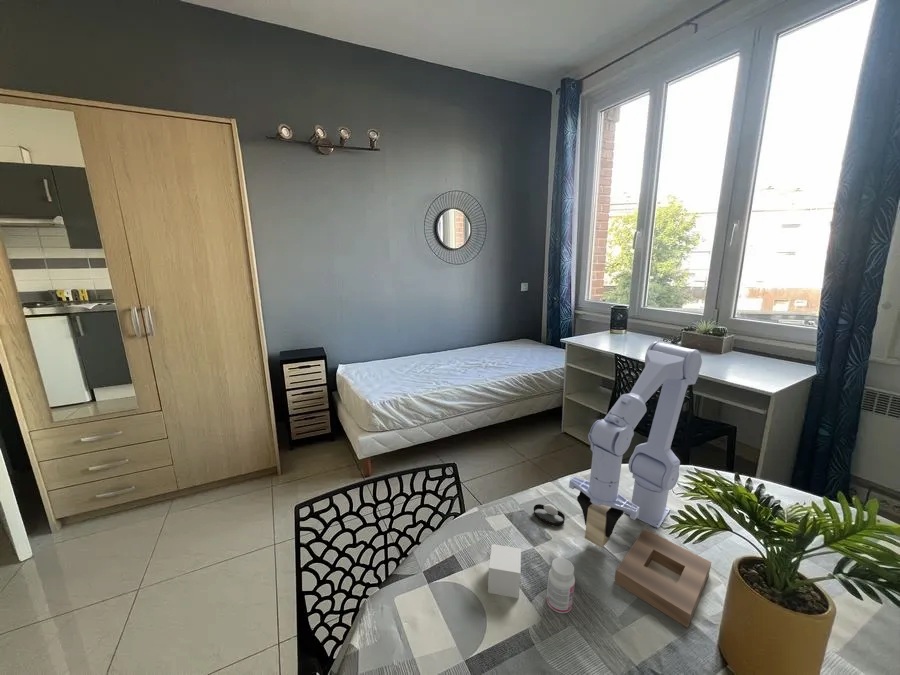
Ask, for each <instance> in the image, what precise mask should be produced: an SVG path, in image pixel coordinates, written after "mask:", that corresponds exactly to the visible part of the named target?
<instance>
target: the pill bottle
mask: <svg viewBox="0 0 900 675" xmlns="http://www.w3.org/2000/svg"><path fill="white" fill-rule="evenodd" d="M575 577H576V576H575V567H574V564H573V563H572V562H571V561H570V560H569V559H567V558H564V557H555V558H554V559H552V561H551V568H550V569H549V572H548V576H547V578H548V579H547V587H546V588H547V589H546V596H545V597H546V602H547V605H548V606H549V608H550V609H551V610H552V611H554V612H556V613H559V614H567V613H569V612H570V611H571V610H572V609H573V603H574V595H575V594H574V593H575V585H576V578H575Z"/></svg>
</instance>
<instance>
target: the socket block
mask: <svg viewBox="0 0 900 675" xmlns="http://www.w3.org/2000/svg"><path fill="white" fill-rule="evenodd" d="M621 560H622V561H620V563H619V565H618V566H617V568H616V569H615V574H614V581H613V582H614V583H615V584H617V585H619V586H620V587H621V588H623V589H624V590H626V591H628V592H629V593H631V594H633V595H634V596H635V597H637V598H639V599H641V600H642V601H644V602H645V603H647V604H649V605H650V606H652V607H653V608H655V609H656V610H659V612H661V613H663V614H665V615H666V616H668V617H669V618H670V619H673V620H674V621H675V622H678V623H679V624H681V625H682V626H683V627H685V628H687V629H688V628H689V627H690V623H691V620H692V618H693V616H694V613H695V610H696V607H697V606H698V603H699V601H700V598H701V596H702V593H703V590H704V587H705V585H706V583H707V581H708V578H709V576H710V571H711V566H712V561H710V560H708V559H706V558H704V557H701V556H699V555H698V554H696V553H693V552H692V551H691V550H688V549H685V548H684V547H682V546H680V545H678V544H675V543H674V542H672V541H670V540H668V539H666V538H664V537H662V536H660V535H658V534H656V533H654V532H652V531H650V530H648V529H646V528H643V529H642V531H641V532H640V534H639V536H638V537H637V538H636V540H635V541H634V543H633V544H632V545H631V548H629V549H628V551H627V553H626V555H625V556H624V557H623V559H621Z"/></svg>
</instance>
